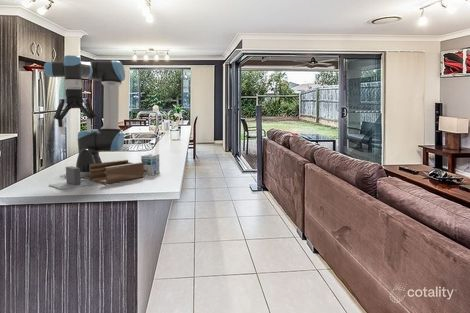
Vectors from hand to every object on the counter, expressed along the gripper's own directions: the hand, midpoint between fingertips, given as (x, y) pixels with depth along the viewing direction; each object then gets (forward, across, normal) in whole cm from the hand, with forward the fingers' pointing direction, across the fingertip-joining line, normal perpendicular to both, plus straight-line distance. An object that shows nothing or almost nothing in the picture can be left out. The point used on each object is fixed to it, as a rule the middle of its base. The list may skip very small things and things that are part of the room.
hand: (76, 132), depth 191 cm
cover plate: (+25, -4, -2) cm, 26 cm away
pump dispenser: (+26, +11, +12) cm, 30 cm away
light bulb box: (+26, +40, -6) cm, 48 cm away
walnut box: (+25, +18, -6) cm, 31 cm away
